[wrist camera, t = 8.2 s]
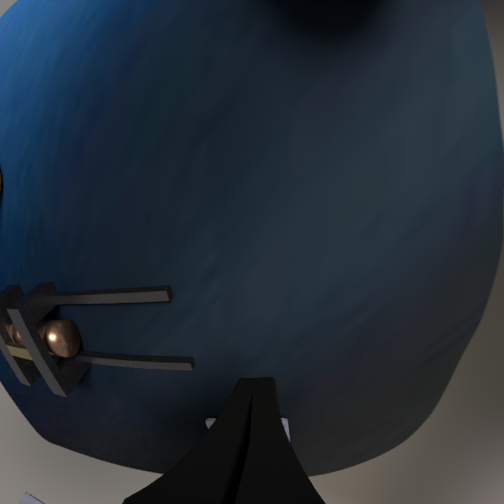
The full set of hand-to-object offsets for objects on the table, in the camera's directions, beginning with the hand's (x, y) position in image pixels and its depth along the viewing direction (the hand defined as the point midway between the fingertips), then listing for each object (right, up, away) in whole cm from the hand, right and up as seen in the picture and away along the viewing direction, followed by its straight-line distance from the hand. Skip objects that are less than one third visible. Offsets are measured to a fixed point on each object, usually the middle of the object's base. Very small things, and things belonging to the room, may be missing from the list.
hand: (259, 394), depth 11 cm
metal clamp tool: (-15, -1, +12) cm, 20 cm away
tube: (-21, -2, +13) cm, 25 cm away
